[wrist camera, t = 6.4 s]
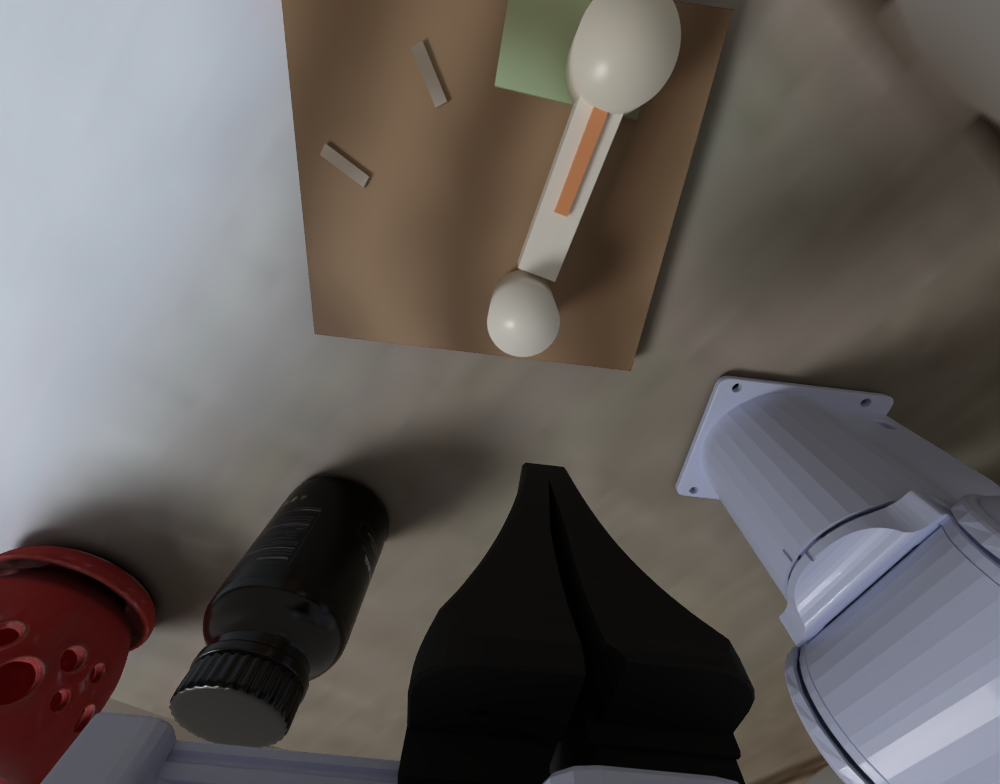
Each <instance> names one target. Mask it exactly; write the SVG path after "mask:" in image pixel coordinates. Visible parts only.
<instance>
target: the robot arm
mask: <svg viewBox="0 0 1000 784" xmlns="http://www.w3.org/2000/svg"><path fill="white" fill-rule="evenodd" d="M735 384H739V385H738V387H737V388H735V389H732V387H733V386H734V385H735ZM864 399H865V401H864V402H862V401H863V400H864ZM861 402H862V403H861ZM893 403H894V402H893V399H892V398H891V397H890V396H888V395H886V394H880V393H872V392H863V391H855V390H846V389H838V388H829V387H821V386H812V385H804V384H795V383H787V382H778V381H770V380H761V379H753V378H744V377H736V376H723V377H721V378H719V379H718V380H717V382H716V384H715V386H714V389H713V391H712V394H711V396H710V399H709V401H708V404H707V407H706V409H705V412H704V414H703V417H702V419H701V422H700V424H699V427H698V429H697V432H696V435H695V437H694V440H693V442H692V445H691V447H690V450H689V452H688V455H687V457H686V460H685V462H684V465H683V468H682V470H681V473H680V475H679V478H678V480H677V483H676V486H675V488H676V490H677V492H678V493H679V494H680V495H684V496H693V497H702V498H712V499H720V500H721V502H722V503H723V505H724V506H725V508H726V509H727V511H728V512H729V514H730V515H731V517H732V518H733V520H734V521H735V523H736V524H737V526H738V527H739V529H740V530H741V532H742V533H743V535H744V536H745V538H746V540H747V541H748V543H749V544H750V546H751V547H752V549H753V550H754V552H755V553H756V555H757V556H758V558H759V559H760V561H761V562H762V564H763V565H764V567H765V568H766V570H767V571H768V573H769V574H770V576H771V578H772V579H773V581H774V582H775V584H776V585H777V587H778V588H779V590H780V591H781V593H782V594H783V596H784V597H785V599H786V600H787V602H788V604H787V607H786V609H785V611H784V612H783V613H782V614H781V616H780V617H779V618H780V620H781V622H782V623H783V625H784V627H785V628H786V630H787V631H788V633H789V635H790V636H791V638H792V640H793V641H794V643H795V644H796V646H795V647H793V648H792V649H791V650H790V652H789V653H788V654H787V657H786V660H785V678H786V684H787V687H788V690H789V693H790V696H791V699H792V702H793V704H794V706H795V708H796V710H797V713H798V715H799V717H800V719H801V720H802V723H803V725H804V726H805V728H806V730H807V732H808V734H809V736H810V737H811V739H812V741H813V742H814V744H815V745H816V747H817V748H818V750H819V751H820V753H821V754H822V756H823V757H824V758H825V760H826V761H827V762H828V764H829V765H830V766H831V767H832V769H833V770H834V771H835V772H836V774H837V775H838V776H839V777H840V778H841V780H842V781H843V782H844V783H845V784H1000V487H999V486H998V485H997V484H996V483H994V482H993V481H992V480H990V479H989V478H987V477H986V476H984V475H982V474H981V473H979V472H977V471H976V470H974V469H973V468H971V467H969V466H968V465H966V464H964V463H963V462H961V461H960V460H958V459H956V458H955V457H953V456H951V455H950V454H948V453H947V452H945V451H943V450H942V449H940V448H938V447H937V446H935V445H934V444H932V443H930V442H929V441H927V440H925V439H924V438H922V437H921V436H919V435H917V434H916V433H914V432H912V431H911V430H909V429H907V428H906V427H904V426H903V425H901V424H899V423H898V422H896V421H894V420H893V419H891V418H890V417H888V416H886V415H887V414H888V412H889V410H890V409H891V407H892V405H893ZM692 487H695V488H694V489H691V488H692ZM754 699H755V695H754V688H753V686H752V684H751V682H750V680H749V677H748V675H747V673H746V671H745V669H744V667H743V665H742V662H741V660H740V658H739V657H738V655H737V653H736V651H735V650H734V648H733V646H732V644H731V642H730V641H729V639H727V638H726V637H724V636H723V635H722V634H720V633H719V632H717V631H716V630H715V629H713V628H712V627H710V626H709V625H708V624H706V623H705V622H703V621H702V620H700V619H699V618H698V617H696V616H695V615H694V614H692V613H691V612H690V611H688V610H687V609H686V608H685V607H683V606H682V605H681V604H680V603H678V602H677V601H676V600H675V599H673V598H672V597H671V596H670V595H669V594H667V593H666V592H665V591H664V590H663V589H662V588H660V587H659V586H658V585H657V584H656V583H655V582H654V581H653V580H652V579H651V578H650V577H648V576H647V575H646V574H645V573H644V572H643V571H642V570H641V569H640V568H639V567H638V566H637V565H636V564H635V563H634V562H633V561H632V560H631V559H630V558H629V557H628V556H627V555H626V553H625V552H624V551H623V550H622V549H621V548H620V547H619V546H618V545H617V544H616V542H615V541H614V540H613V539H612V537H611V536H610V535H609V534H608V532H607V531H606V530H605V529H604V527H603V526H602V525H601V523H600V522H599V521H598V519H597V518H596V516H595V515H594V514H593V512H592V511H591V509H590V508H589V506H588V505H587V503H586V502H585V500H584V499H583V497H582V496H581V494H580V493H579V491H578V489H577V488H576V486H575V484H574V483H573V481H572V479H571V478H570V476H569V474H568V472H567V471H566V469H565V468H564V467H559V466H551V465H542V464H533V463H525V464H524V465H522V470H521V476H520V482H519V487H518V493H517V496H516V499H515V501H514V504H513V506H512V509H511V511H510V513H509V515H508V517H507V519H506V521H505V523H504V525H503V527H502V529H501V531H500V533H499V534H498V536H497V538H496V539H495V541H494V543H493V544H492V546H491V548H490V549H489V551H488V552H487V554H486V555H485V557H484V558H483V559H482V561H481V562H480V564H479V565H478V566H477V568H476V569H475V570H474V571H473V573H472V574H471V575H470V576H469V578H468V579H467V580H466V581H465V582H464V584H463V585H462V586H461V587H460V588H459V589H458V591H457V592H456V593H455V594H454V595H453V596H452V597H451V598H450V599H449V600H448V601H447V602H446V603H445V604H444V605H443V606H442V607H441V608H440V609H439V611H438V613H437V615H436V617H435V619H434V620H433V622H432V624H431V626H430V628H429V630H428V632H427V634H426V635H425V637H424V640H423V642H422V644H421V646H420V648H419V651H418V653H417V656H416V659H415V662H414V665H413V669H412V675H411V680H410V685H409V690H408V716H407V730H406V735H405V740H404V745H403V750H402V755H401V760H400V761H395V760H384V759H374V758H363V757H353V756H342V755H331V754H321V753H310V752H300V751H289V750H279V749H268V748H258V747H247V746H237V745H226V744H215V743H204V742H194V741H184V740H176V736H175V731H174V729H173V727H172V725H171V724H170V723H169V722H167V721H165V720H163V719H161V718H157V717H153V716H145V715H134V714H124V713H113V712H100V713H98V714H96V715H95V716H94V717H93V718H92V719H91V721H90V722H89V723H88V724H87V726H86V727H85V728H84V729H83V731H82V732H81V733H80V735H79V736H78V737H77V738H76V740H75V741H74V742H73V743H72V745H71V746H70V747H69V748H68V750H67V751H66V752H65V753H64V755H63V756H62V757H61V758H60V760H59V761H58V762H57V763H56V765H55V766H54V767H53V768H52V770H51V771H50V772H49V774H48V775H47V776H46V777H45V779H44V780H43V781H42V782H41V784H745V782H744V779H743V777H742V774H741V771H740V769H739V766H738V764H737V761H736V759H739V758H740V757H741V755H740V749H739V747H738V744H737V742H736V739H735V737H734V734H733V732H734V731H735V730H736V728H737V727H738V726H739V724H740V723H741V722H742V720H743V719H744V717H745V716H746V715H747V713H748V712H749V710H750V708H751V706H752V704H753V702H754Z"/></svg>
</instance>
